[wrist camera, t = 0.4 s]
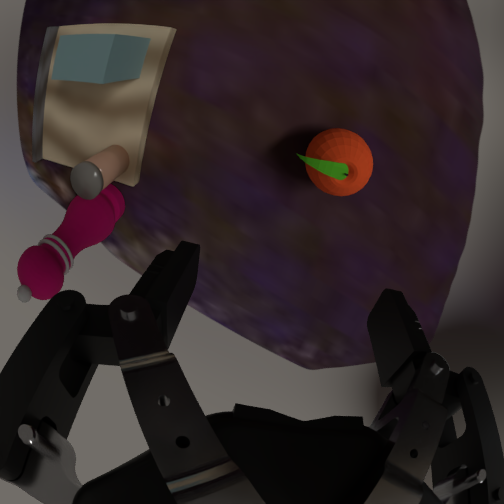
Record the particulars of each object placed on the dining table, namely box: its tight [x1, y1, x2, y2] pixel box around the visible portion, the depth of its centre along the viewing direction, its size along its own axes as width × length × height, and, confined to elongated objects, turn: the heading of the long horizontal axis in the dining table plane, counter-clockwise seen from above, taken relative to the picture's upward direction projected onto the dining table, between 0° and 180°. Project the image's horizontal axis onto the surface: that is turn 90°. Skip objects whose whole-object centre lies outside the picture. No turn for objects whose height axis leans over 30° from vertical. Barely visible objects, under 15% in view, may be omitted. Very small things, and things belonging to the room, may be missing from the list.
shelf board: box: [32, 24, 177, 187], centre depth 24 cm, size 20×18×3 cm
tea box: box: [51, 34, 151, 84], centre depth 18 cm, size 5×7×7 cm
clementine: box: [296, 128, 373, 196], centre depth 25 cm, size 8×7×7 cm
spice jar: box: [70, 145, 129, 200], centre depth 26 cm, size 4×4×7 cm
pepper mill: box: [17, 184, 125, 302], centre depth 27 cm, size 7×7×20 cm
